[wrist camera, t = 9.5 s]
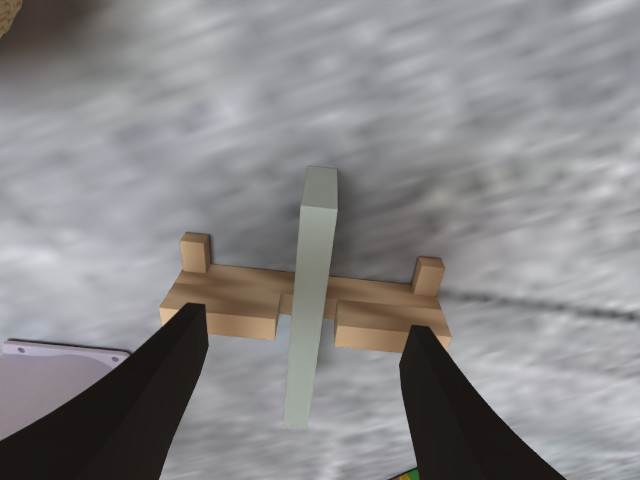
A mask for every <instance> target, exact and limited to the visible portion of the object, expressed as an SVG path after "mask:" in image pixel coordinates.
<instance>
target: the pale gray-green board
mask: <svg viewBox="0 0 640 480" xmlns="http://www.w3.org/2000/svg"><path fill="white" fill-rule="evenodd" d="M337 211H338V193H337V169H333V168H324V167H315V166H308V168H307V174H306V179H305V185H304V190H303V196H302V201H301V208H300V220H299V233H298V246H297V258H296V271H295V283H294V296H293V308H292V321H291V333H290V346H289V358H288V371H287V383H286V396H285V408H284V421H283V426H285V427H296V428H308V421H309V414H310V407H311V399H312V392H313V385H314V378H315V370H316V363H317V356H318V349H319V341H320V334H321V327H322V320H323V313H324V305H325V298H326V291H327V284H328V276H329V269H330V262H331V255H332V247H333V240H334V233H335V226H336V218H337Z"/></svg>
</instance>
